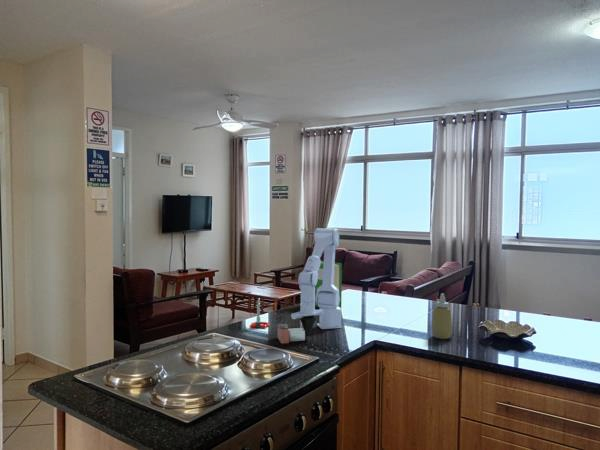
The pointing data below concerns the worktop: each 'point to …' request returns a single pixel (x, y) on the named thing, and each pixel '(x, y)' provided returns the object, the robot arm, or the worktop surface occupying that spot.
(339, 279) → the hardback book
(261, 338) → the worktop surface
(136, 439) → the worktop surface
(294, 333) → the lock block
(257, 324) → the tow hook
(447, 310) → the squeeze bottle
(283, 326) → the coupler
